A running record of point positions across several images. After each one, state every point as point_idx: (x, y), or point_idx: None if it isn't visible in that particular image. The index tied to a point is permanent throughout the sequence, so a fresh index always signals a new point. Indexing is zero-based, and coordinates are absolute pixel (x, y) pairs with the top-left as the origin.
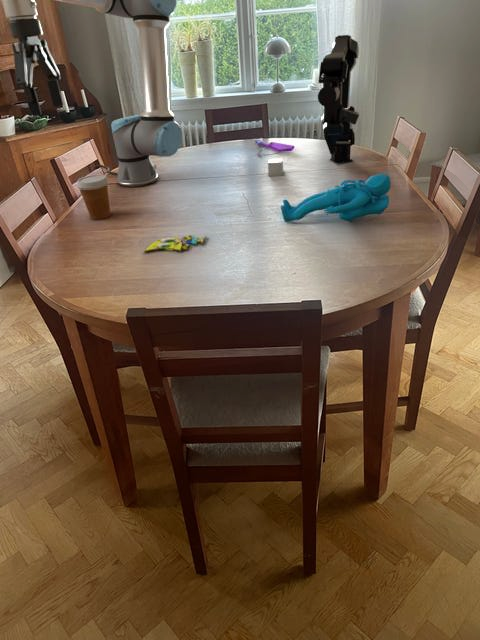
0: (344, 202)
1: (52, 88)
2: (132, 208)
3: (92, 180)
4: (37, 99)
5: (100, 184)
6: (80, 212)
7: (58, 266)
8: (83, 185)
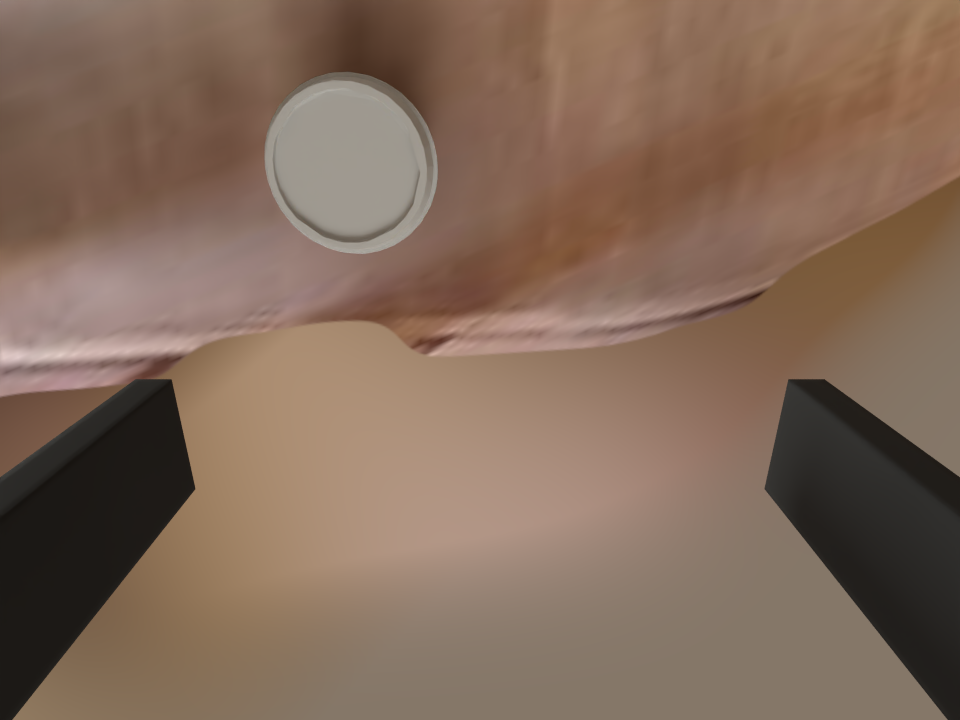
0: None
1: (37, 611)
2: (277, 23)
3: (360, 159)
4: (925, 476)
5: (394, 95)
6: (332, 277)
7: (871, 136)
8: (429, 188)
